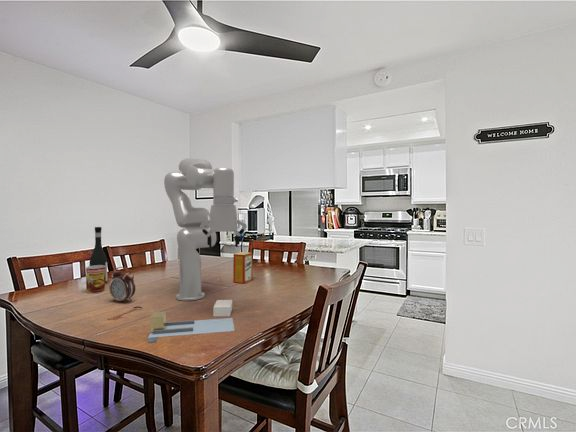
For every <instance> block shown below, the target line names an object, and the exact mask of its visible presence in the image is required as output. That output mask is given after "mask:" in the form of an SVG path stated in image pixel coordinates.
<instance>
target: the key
mask: <svg viewBox="0 0 576 432" xmlns="http://www.w3.org/2000/svg"><path fill="white" fill-rule="evenodd" d="M141 310H143V307H142V306H137V305H136V306H134V307H133V308H132V309H130V310H127V311H126V312H122V313H120V314H118V315H115V316H113V317H110V318H108V319H107V320H108V321H117V320H120V319H123V318H124V316H125V315H126V314H129V313H132V312H134V311H141ZM123 315H124V316H123Z"/></svg>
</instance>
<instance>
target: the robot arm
mask: <svg viewBox="0 0 576 432" xmlns="http://www.w3.org/2000/svg"><path fill="white" fill-rule="evenodd" d="M178 170H179V171H171V172H168V173H167V174H165V176H164V179H163V182H164V183H163V184H164V190H165V192H166V195H167V197H168V198H169V201H170V202H171V205H172V210H173V213H174V218H175V222H176V224H177V226H178V227H179V228H181V229H180V230H179V231H178V232H177V235H176V242H177V247H178V258H179V260H178V263H179V267H178V268H179V271H178V273H179V275H178V276H179V285H178V286H179V293H177V294H175V299H176V300H178V301H181V302H182V301H183V302H184V301H185V302H188V301H189V302H190V301H198V300H200V299H203V298H205V296H206V293H205V292H203V291H202V257H201V255H200V253H199V252H198V250H197V249H204V248H209V249H211V248H213V247H214V246H215V245H216V243H217V233H218V232H225V233H226V232H234V234H235V238H234V240H235V241H234V242H235V244H234V245H235V247H236V248H238V245H240V237H241V235H242V234H243V233H245V230H246V228H247V227H248V225H247V223H244V222H242V221H241V220H238V212H237V207H236V204H235V203H238V199H239V198H236V197H235V191H234V190H235V186H234V185H235V181H234V180H235V174H234V173H235V172H234V170H233V169H232V168H229V167H216V168H214V169H213V166H212V163H211V162H210V161H208V160H207V159H201V158H200V159H199V158H191V157H188V158H184V159H182V160H180V161H179V164H178ZM201 189H212V190H213V194H212V195H213V197H212V198H213V201H212V202H213V203H212V204H211V205H210V211H209V210H208V209H207V208H204V207H194V206H193V205H192V202H191V199H190V197H188V195H187V194H186V193H185V192H183V191H186V190H187V191H199V190H201ZM238 225H239V226H240V227H241V229H240V230H238ZM216 232H217V233H216Z"/></svg>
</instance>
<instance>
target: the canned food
mask: <svg viewBox="0 0 576 432" xmlns="http://www.w3.org/2000/svg"><path fill="white" fill-rule="evenodd" d="M85 276H86V278H85V282H86V283H85V285H86V286H85V287H86V288H85V289H86V291H85V292H86V294H92V295H93V294H94V295H95V294H101V293H103V292H105V291H106V283H105V266H104V265H94V266H90V265H88V266H86V267H85Z"/></svg>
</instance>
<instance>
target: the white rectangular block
mask: <svg viewBox="0 0 576 432" xmlns="http://www.w3.org/2000/svg"><path fill="white" fill-rule="evenodd" d="M212 309H213V311H212V312H213V314H212V315H213V317H231V313H232V311H233V299H217V300H216V302H215V303H214V305H213V308H212Z"/></svg>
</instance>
